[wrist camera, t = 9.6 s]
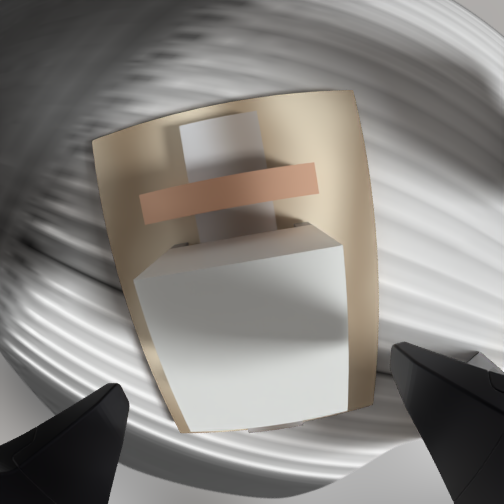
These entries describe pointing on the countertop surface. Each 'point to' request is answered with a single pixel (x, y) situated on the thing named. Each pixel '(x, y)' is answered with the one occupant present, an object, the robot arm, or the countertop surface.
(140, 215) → the rail board
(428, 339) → the countertop surface
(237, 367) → the block
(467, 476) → the robot arm
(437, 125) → the countertop surface
